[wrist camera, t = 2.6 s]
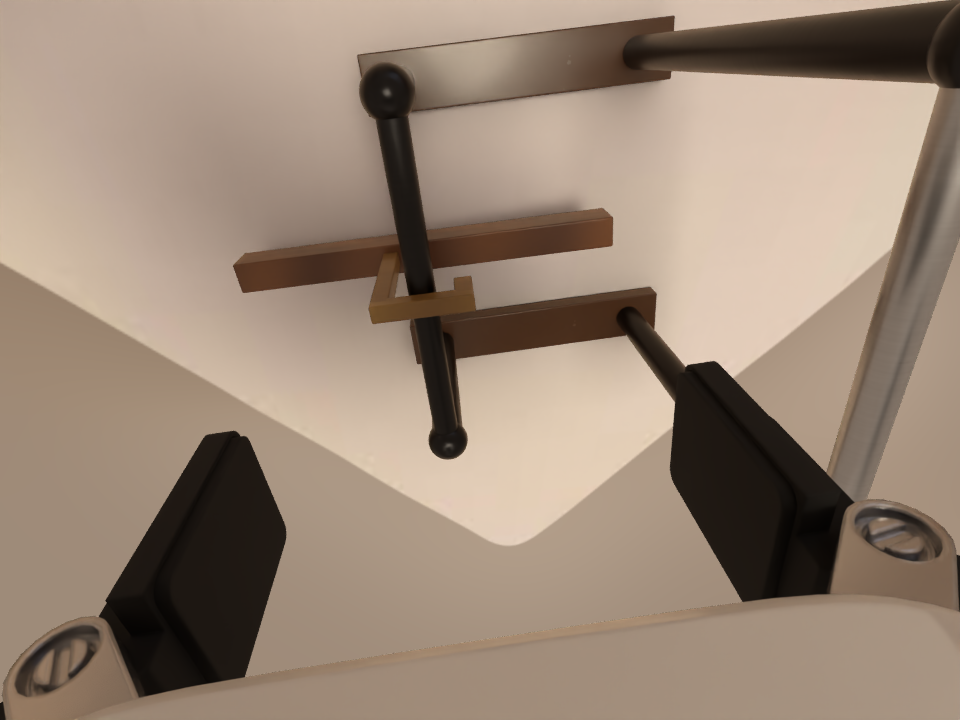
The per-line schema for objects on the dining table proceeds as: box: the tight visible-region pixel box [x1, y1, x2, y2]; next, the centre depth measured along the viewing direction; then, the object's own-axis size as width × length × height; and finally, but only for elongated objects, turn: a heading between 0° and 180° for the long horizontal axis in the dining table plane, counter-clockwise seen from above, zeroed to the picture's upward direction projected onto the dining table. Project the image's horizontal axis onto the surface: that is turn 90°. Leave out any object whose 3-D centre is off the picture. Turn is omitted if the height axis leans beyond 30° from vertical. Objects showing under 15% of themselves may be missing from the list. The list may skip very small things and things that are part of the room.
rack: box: [357, 0, 960, 502], centre depth 24 cm, size 17×19×23 cm
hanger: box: [233, 208, 613, 324], centre depth 26 cm, size 20×2×9 cm, turn 96°
